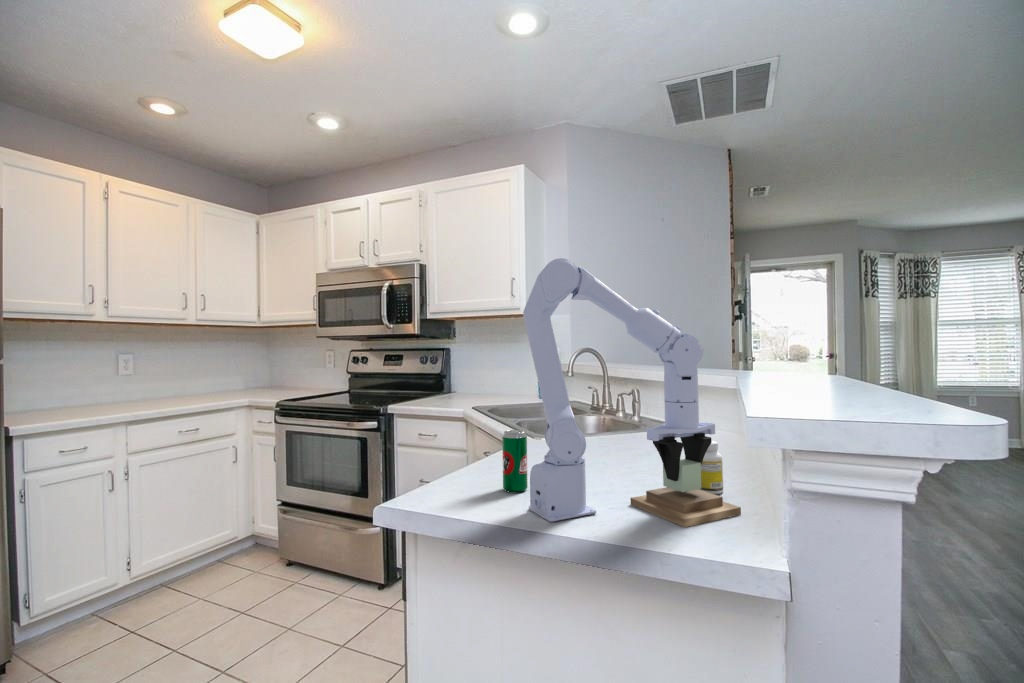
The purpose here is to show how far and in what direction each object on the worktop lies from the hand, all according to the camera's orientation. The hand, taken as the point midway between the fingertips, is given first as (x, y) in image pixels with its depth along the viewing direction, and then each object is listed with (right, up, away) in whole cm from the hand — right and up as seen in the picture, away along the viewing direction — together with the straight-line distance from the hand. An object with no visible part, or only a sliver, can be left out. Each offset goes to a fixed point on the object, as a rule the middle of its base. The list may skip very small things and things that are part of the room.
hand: (683, 477), depth 83 cm
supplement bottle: (+9, -6, +11) cm, 15 cm away
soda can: (-30, -7, +13) cm, 33 cm away
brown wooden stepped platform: (0, -6, 0) cm, 6 cm away
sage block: (0, -2, 0) cm, 2 cm away
